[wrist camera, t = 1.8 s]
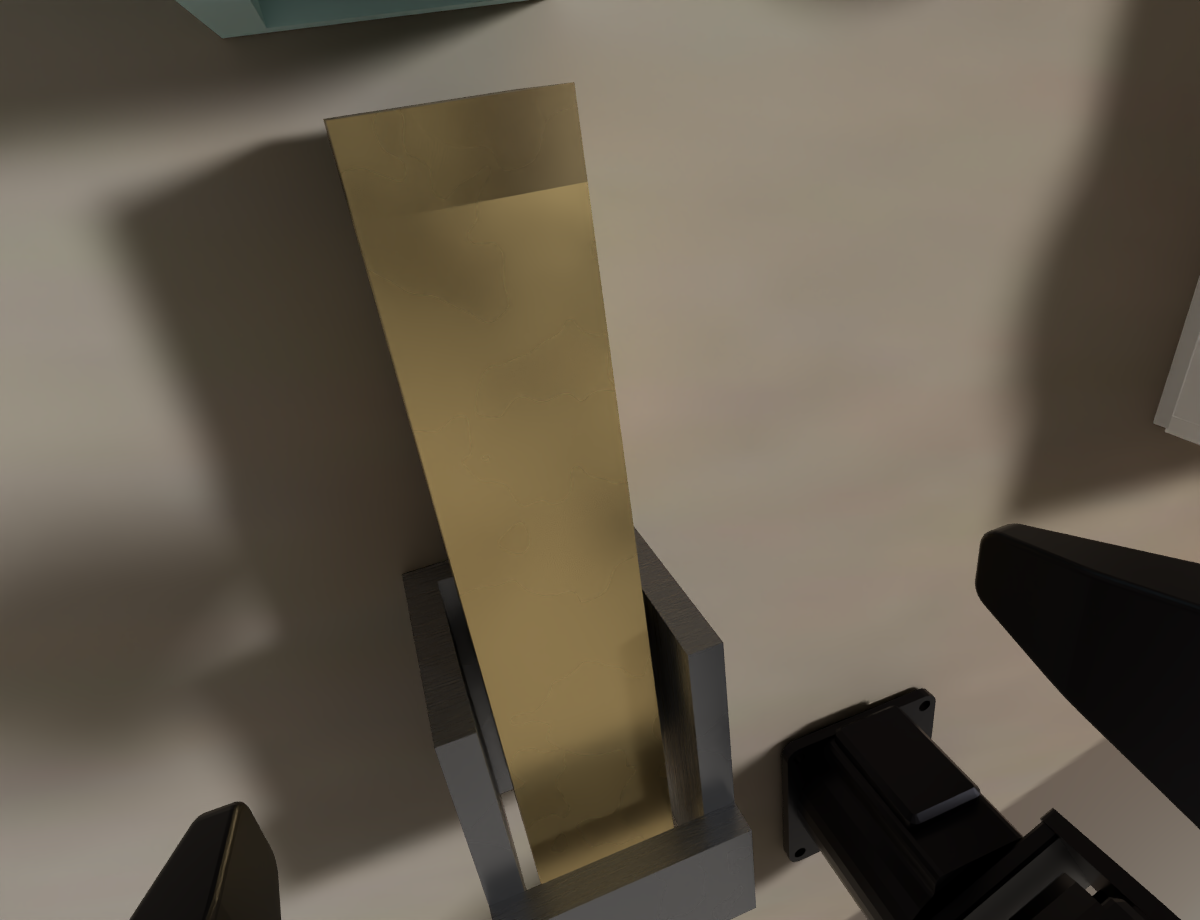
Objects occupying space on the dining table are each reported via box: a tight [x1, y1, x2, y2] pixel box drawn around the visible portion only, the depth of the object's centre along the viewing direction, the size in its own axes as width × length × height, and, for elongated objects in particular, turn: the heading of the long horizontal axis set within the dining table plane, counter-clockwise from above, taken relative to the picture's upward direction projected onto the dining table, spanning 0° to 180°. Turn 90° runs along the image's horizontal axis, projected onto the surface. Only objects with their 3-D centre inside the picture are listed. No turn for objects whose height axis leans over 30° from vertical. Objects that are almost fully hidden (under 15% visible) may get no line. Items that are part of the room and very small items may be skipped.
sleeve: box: [402, 527, 756, 920], centre depth 18 cm, size 8×6×7 cm
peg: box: [323, 82, 674, 884], centre depth 16 cm, size 18×4×4 cm, turn 7°
